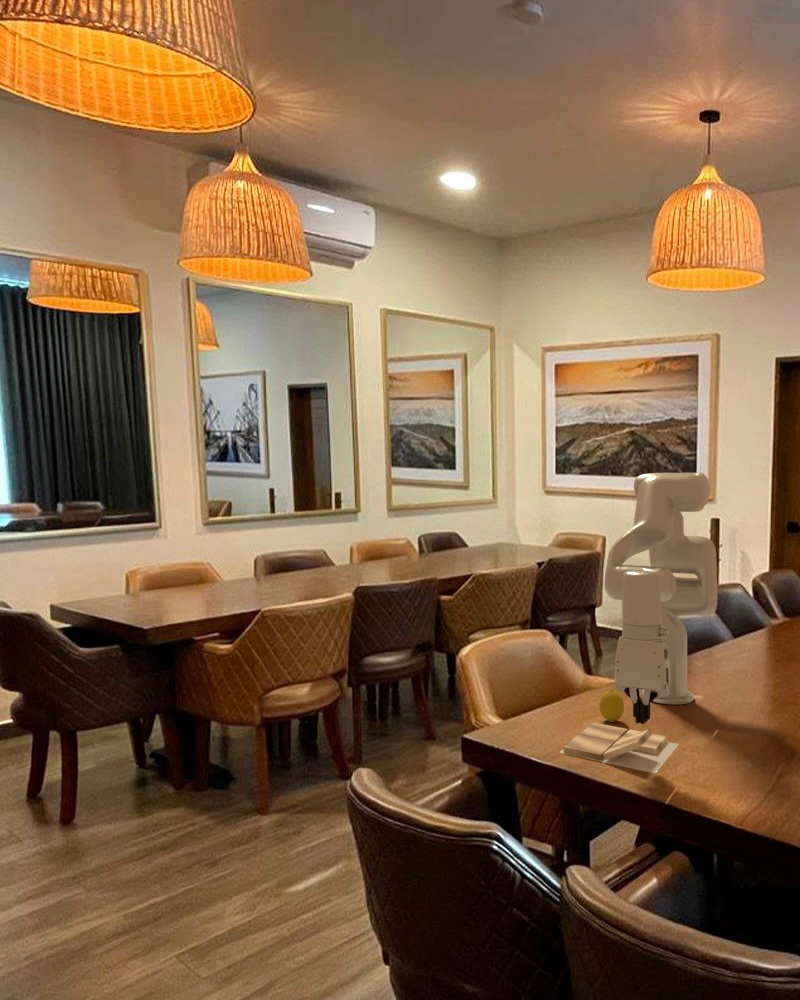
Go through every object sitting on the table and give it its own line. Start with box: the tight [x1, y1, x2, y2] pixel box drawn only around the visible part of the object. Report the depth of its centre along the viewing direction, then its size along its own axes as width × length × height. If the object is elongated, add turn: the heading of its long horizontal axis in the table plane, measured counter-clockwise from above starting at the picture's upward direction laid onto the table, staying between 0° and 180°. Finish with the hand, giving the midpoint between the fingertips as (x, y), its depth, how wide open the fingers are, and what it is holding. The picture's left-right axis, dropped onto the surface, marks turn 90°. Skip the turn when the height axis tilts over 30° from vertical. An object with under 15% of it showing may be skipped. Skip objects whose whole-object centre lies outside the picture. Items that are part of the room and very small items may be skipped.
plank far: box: [618, 729, 668, 755], centre depth 158 cm, size 8×8×1 cm
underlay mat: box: [559, 741, 680, 775], centre depth 156 cm, size 18×20×1 cm
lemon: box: [599, 688, 625, 723], centre depth 173 cm, size 6×6×8 cm
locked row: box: [563, 722, 629, 761], centre depth 159 cm, size 18×8×1 cm, turn 145°
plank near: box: [603, 728, 653, 760], centre depth 151 cm, size 8×8×1 cm
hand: (641, 721), depth 148 cm, fingers closed
